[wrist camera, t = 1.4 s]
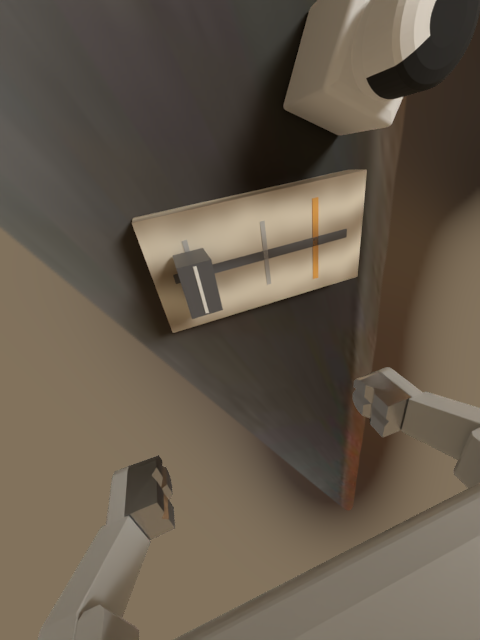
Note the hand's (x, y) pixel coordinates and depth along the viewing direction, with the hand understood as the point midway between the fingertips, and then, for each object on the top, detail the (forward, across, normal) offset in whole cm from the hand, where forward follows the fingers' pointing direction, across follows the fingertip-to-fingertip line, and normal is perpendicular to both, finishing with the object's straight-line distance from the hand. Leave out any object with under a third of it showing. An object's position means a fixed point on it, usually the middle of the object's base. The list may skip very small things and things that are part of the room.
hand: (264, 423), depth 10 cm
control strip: (+22, -8, 0) cm, 24 cm away
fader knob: (+19, 0, 0) cm, 19 cm away
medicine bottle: (+22, -17, -14) cm, 31 cm away
